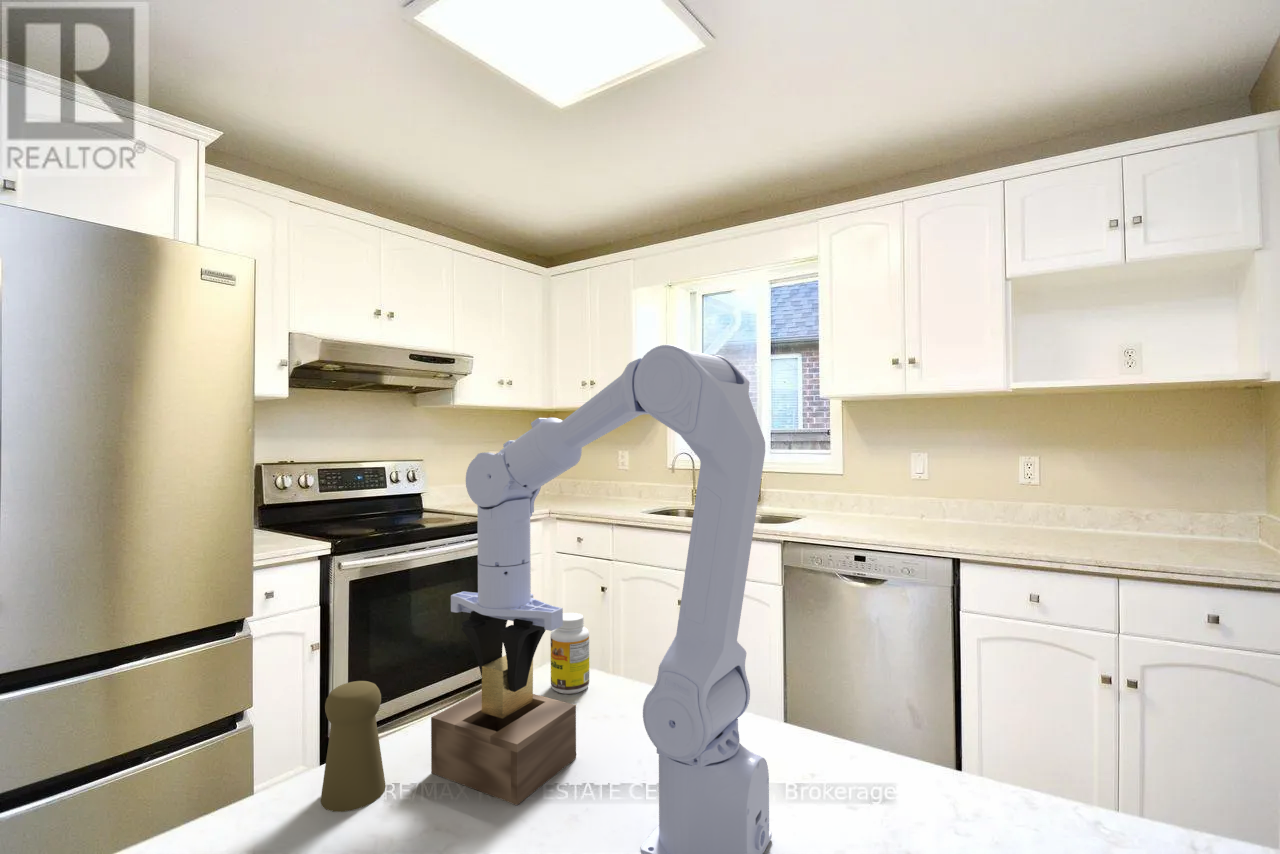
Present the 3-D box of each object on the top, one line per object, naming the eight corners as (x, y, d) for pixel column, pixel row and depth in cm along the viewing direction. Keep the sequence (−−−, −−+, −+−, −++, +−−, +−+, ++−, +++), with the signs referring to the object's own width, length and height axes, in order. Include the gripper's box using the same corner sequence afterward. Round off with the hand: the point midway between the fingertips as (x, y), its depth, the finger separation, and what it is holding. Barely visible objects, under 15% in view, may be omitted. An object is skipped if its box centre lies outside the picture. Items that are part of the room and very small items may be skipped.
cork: (361, 815, 60) (360, 700, 60) (306, 807, 61) (306, 695, 61) (397, 780, 65) (397, 676, 65) (347, 774, 67) (347, 672, 67)
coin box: (576, 758, 70) (575, 704, 70) (517, 805, 61) (516, 744, 61) (495, 733, 75) (495, 684, 76) (431, 773, 67) (431, 717, 67)
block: (532, 701, 70) (533, 656, 70) (502, 718, 66) (503, 671, 66) (512, 695, 72) (512, 652, 72) (481, 712, 67) (481, 665, 67)
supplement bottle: (545, 684, 90) (544, 613, 90) (580, 676, 93) (580, 608, 93) (558, 698, 85) (558, 624, 85) (595, 690, 88) (595, 618, 88)
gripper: (579, 561, 68) (579, 684, 68) (481, 549, 75) (481, 661, 75) (538, 574, 62) (539, 709, 62) (436, 560, 69) (436, 681, 69)
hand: (504, 684), depth 68 cm, fingers open, 3 cm apart
